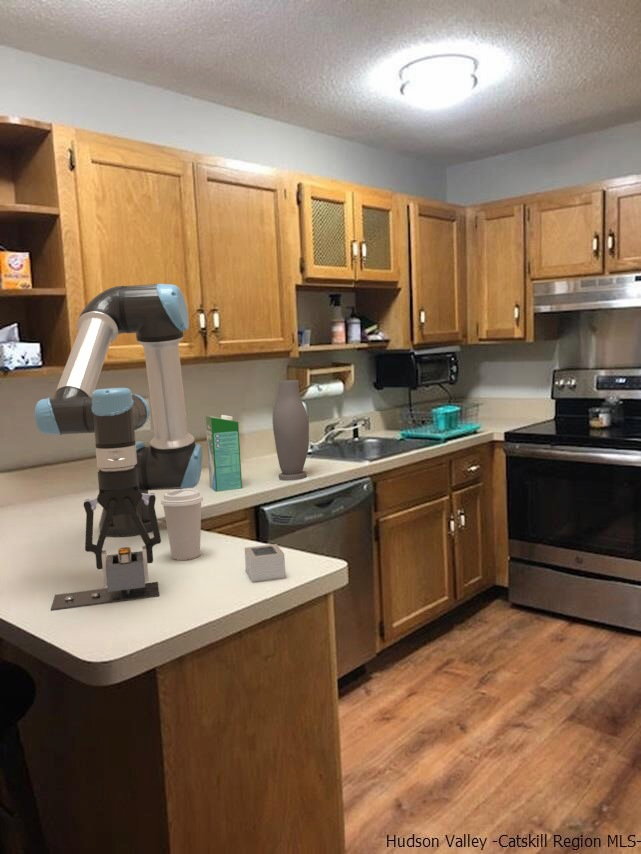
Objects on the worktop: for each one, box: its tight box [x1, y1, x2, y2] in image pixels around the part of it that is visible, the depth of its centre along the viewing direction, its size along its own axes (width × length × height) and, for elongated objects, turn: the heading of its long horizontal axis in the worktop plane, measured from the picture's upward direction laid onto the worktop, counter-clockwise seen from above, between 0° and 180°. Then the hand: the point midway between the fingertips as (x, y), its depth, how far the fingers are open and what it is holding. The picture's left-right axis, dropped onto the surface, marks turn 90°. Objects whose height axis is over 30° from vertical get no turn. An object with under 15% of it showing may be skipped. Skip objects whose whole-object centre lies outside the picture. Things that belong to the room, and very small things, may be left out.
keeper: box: [50, 546, 160, 611], centre depth 138 cm, size 8×20×9 cm, turn 105°
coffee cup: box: [160, 488, 204, 561], centre depth 162 cm, size 10×10×15 cm
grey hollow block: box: [106, 550, 146, 592], centre depth 139 cm, size 8×7×5 cm
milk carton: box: [205, 414, 243, 492], centre depth 238 cm, size 9×9×25 cm
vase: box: [272, 379, 310, 481], centre depth 250 cm, size 13×13×35 cm
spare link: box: [244, 543, 286, 583], centre depth 147 cm, size 8×7×5 cm
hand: (126, 581), depth 139 cm, fingers closed on grey hollow block, 7 cm apart
